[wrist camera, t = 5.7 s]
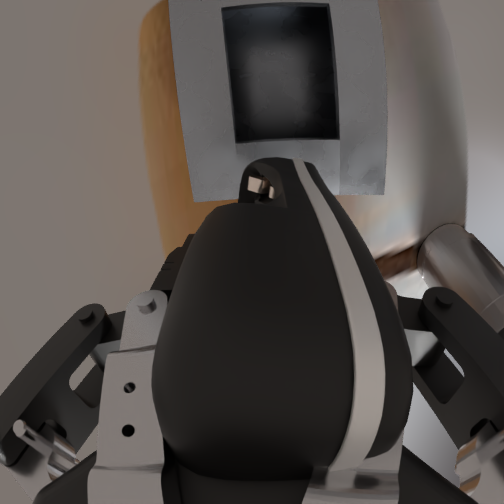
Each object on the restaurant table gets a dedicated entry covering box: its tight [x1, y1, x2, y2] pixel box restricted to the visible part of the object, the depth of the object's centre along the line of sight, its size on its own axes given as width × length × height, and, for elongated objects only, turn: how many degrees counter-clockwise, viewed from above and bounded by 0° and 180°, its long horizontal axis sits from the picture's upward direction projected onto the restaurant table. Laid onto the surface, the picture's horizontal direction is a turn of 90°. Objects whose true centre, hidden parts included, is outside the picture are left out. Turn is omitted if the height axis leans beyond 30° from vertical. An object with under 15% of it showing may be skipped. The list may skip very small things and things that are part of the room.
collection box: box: [168, 0, 387, 202], centre depth 19 cm, size 14×18×10 cm
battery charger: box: [151, 157, 413, 481], centre depth 9 cm, size 7×4×11 cm, turn 173°
